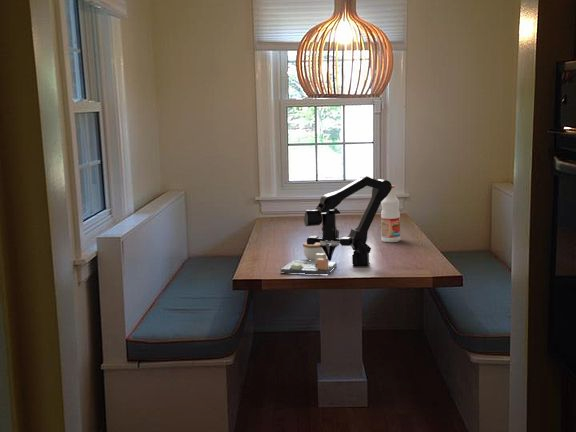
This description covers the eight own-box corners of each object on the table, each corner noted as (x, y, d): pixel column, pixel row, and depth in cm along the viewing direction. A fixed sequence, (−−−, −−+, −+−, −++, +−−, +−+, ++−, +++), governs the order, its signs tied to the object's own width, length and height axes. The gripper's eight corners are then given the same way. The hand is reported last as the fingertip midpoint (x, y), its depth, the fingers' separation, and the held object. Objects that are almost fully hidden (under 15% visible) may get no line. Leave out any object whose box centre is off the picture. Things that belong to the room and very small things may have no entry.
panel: (336, 266, 295) (336, 262, 295) (326, 275, 280) (326, 270, 280) (292, 264, 302) (292, 260, 301) (280, 273, 287) (280, 268, 286)
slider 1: (326, 262, 294) (325, 253, 293) (324, 264, 291) (324, 255, 290) (317, 262, 295) (316, 253, 295) (315, 263, 292) (314, 254, 292)
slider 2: (328, 267, 284) (328, 258, 284) (326, 269, 282) (326, 260, 281) (319, 267, 286) (318, 258, 285) (317, 269, 283) (316, 259, 282)
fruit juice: (384, 238, 351) (383, 184, 347) (402, 239, 348) (401, 184, 343) (379, 242, 343) (378, 186, 338) (397, 242, 339) (397, 186, 335)
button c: (303, 270, 289) (303, 263, 288) (300, 273, 285) (299, 266, 284) (293, 270, 290) (293, 263, 290) (290, 272, 286) (289, 265, 286)
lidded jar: (312, 256, 317) (312, 236, 316) (331, 258, 310) (331, 238, 309) (298, 260, 309) (297, 240, 308) (317, 263, 302) (316, 242, 301)
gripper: (354, 221, 294) (355, 257, 296) (313, 220, 299) (314, 255, 302) (348, 226, 283) (349, 263, 286) (305, 225, 289) (306, 261, 292)
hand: (329, 260), depth 292 cm, fingers closed
